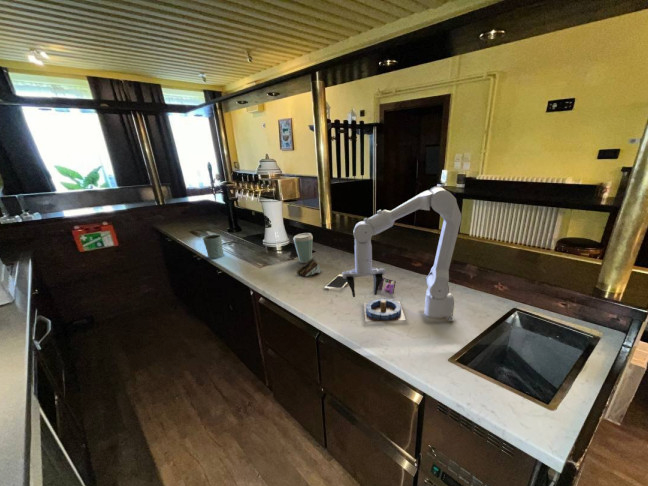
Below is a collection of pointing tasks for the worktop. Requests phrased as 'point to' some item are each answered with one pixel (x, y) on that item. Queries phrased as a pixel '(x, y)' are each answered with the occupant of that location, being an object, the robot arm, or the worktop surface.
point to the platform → (383, 309)
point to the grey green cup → (213, 246)
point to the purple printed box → (387, 285)
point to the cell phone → (337, 282)
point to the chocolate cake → (309, 268)
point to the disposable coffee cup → (304, 246)
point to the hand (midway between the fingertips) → (364, 294)
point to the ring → (383, 315)
